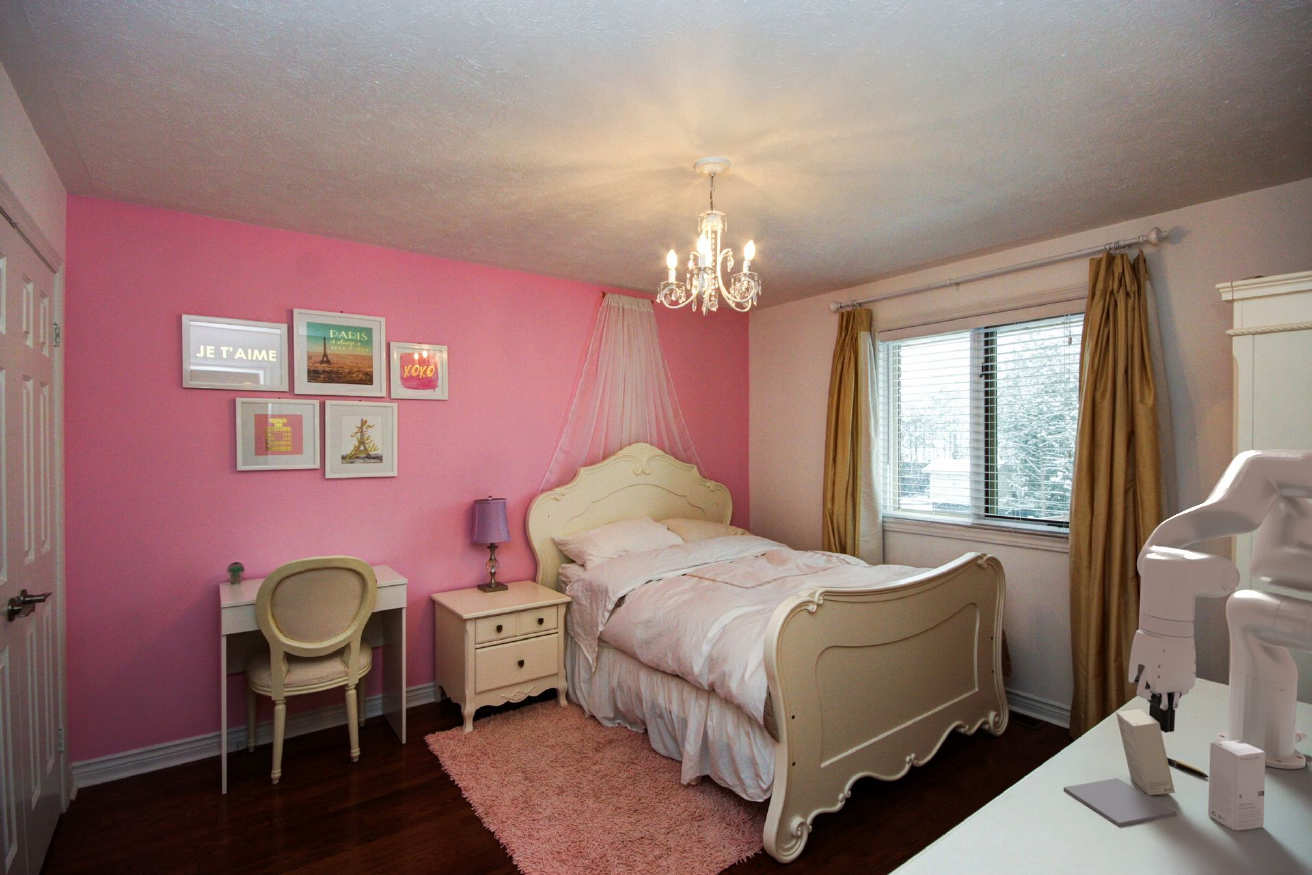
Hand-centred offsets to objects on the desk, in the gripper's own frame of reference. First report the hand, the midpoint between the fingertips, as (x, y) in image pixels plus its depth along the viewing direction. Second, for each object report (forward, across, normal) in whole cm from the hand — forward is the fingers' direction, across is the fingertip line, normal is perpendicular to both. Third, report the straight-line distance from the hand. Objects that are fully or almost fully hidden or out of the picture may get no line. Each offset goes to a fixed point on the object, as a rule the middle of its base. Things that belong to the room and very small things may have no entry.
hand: (1161, 728), depth 112 cm
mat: (+10, +12, +2) cm, 16 cm away
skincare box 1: (+10, +2, 0) cm, 10 cm away
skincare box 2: (+11, -2, +10) cm, 15 cm away
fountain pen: (+11, -10, -6) cm, 16 cm away
